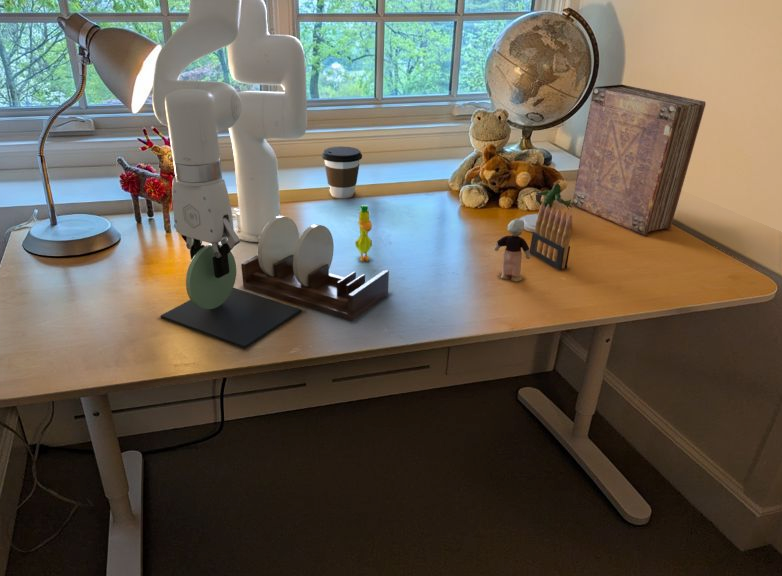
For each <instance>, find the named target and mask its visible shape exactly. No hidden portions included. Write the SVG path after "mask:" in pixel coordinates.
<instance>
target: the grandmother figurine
mask: <svg viewBox="0 0 782 576" xmlns="http://www.w3.org/2000/svg"><path fill="white" fill-rule="evenodd" d="M506 230H507V231H508V232H509V233H510V235H505V236H502V237H500V238H499V239H498V240H497V241H496V244H495V246H493V251H495V252H498V251H499V250H500V248H502V247H505V249H504V253H503V258H502V266H501V267H502V268H501V275H500V278H501V279H502V280H509V279H510V278H511V279H510V280H511V281H512V282H514V283H515V282H516V283H517V282H520V281H522V280H523V279H524V278H523V276H522V275H521V271H522V270H521V269H522V259H523V258H522V255H523V254H524V255H525V259H526V260H530V259H531V257H532V254H530V251H529V250H530V246H529V245H528V242H527V240H525V239H524V238H523V237H521V235H522V234H523V232H524V230H525V229H524V221H523V220H521V219H520V218H514V219H512V220H511V221H510V222H509V223H508V224H507V227H506ZM522 251H523V252H524V253H522Z"/></svg>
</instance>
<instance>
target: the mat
mask: <svg viewBox="0 0 782 576" xmlns="http://www.w3.org/2000/svg"><path fill="white" fill-rule="evenodd" d="M302 311H303V310H302V308H299V307H295V306H293V305H289V304H286V303H283V302H280V301H277V300H273V299H271V298H267V297H264V296H261V295H258V294H255V293H251V292H248V291H245V290H242V289H239V288H235V287H233V289H232V291H231V293H230V295H229V297H228V298H227V299H226V300H225V301H224V303H222V304H221V305H220V306H218V307H216V308H214V309H203V308H200V307H198V306H196V305H195V304H194V303H193V302H192V301H191V300H190V299H189V300H187V301H185V302H183V303H181V304H180V305H178V306H175V307H174V308H172V309H170V310H168V311H166V312H165V313H162V314H161V315H160V319H162V320H164V321H168V322H170V323H173V324H175V325H178V326H181V327H184V328H186V329H190V330H192V331H195V332H196V333H197V332H198V333H200V334H203V335H206V336H208V337H211V338H214V339H217V340H219V341H222V342H225V343H228V344H230V345H232V346H235V347H239V348H241V349H244V350H246V349H248V348H249V347H251V346H252V345H253V344H255V343H257V342H258V341H260V340H261V339H263V338H264V337H266V336H267V335H269V334H270V333H271V332H273V331H275V330H276V329H278V328H280V327H281V326H282V325H284V324H286V323H287V322H288V321H290V320H292V319H293V318H295V317H296V316H298V315H300V314H301V313H302Z"/></svg>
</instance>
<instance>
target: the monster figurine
mask: <svg viewBox="0 0 782 576" xmlns="http://www.w3.org/2000/svg"><path fill="white" fill-rule="evenodd" d="M561 192H562V186H561V184H560V183H558V182H557V183H555V185H554V186H552V188H551V189H547V190H541V191H538V192H535V201H536V202H537V203H538V204H539V206H541V204H542V202H544V205H545V209H546V207H547V205H548V204H549V206H550V210H552V208H553V204H554V202H555V201H557V202H558V203H559V204H561V205H564V206H566V208H567V209H568V210H570V208H571V209H573V206H572V204H573V203H572V202H571V201H572V199H570V200H564V199H562V198H561V197H562V195H561ZM542 196H545V197H544V199H543V200H544V201H542ZM569 207H570V208H569ZM544 213H545V211H544ZM538 214H539V213H533V214H526V215H523V216H521V217H520V218H519V219H521V220H523V221H524V229H523V230H525V231H527V232H530V233H533V232H535V226H536V220H537V218H538ZM549 217H550V216H549ZM555 217H556V215H555ZM560 221H561V220H560Z"/></svg>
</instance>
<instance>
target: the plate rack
mask: <svg viewBox="0 0 782 576" xmlns="http://www.w3.org/2000/svg"><path fill="white" fill-rule="evenodd" d="M293 257H294V255H290V256H288V257H286V258H285V259H283V260H281V261H279V262H277V263H275V264H274V276H275V277H273V276H269V275H267V274H265V273H264V272H263V270H262V269H261V267H260V265H259V261H258V254H257V255H254V256H253V257H251V258H249V259H247V260H245V261H243V262H241V263H240V266H241V267H240V269H241V278H242V286H243V287H242V288H244V289H247V290H250V291H254V292H257V293H260V294H263V295H267V296H270V297H272V298H276V299H279V300H283V301H285V302H289V303H292V304H296V305H298V306H301V307H305V308H308V309H311V310H313V311H318V312H319V313H320V312H321V313H324V314H327V315H329V316H334V317H337V318H340V319H343V320H346V321H349V322H352V323H353V322H354V321H356V320H357V319H358V318H359V317H361V316H362V315H364V314H365V313H366V312H368V311H369V310H370V309H371V308H373V307H375V306H376V304H378V303H379V302H380V301H382V300H383V299H385V298H386V297H387V296H388V295H389V280H390V279H389V278H390V277H389V276H390V271H389V270H387V269H383V270H382V271H381V272H379V273H378V274H376V275H374V277H372V278H370V279H369V280H367V281H366V274H365V273H362V274H360V275H359V276H357V271H352V272H350V273H349V274H347V275H346V276H342V275H341V276H340V275H338V274H334V273H332V272H330V268H329V264H326V265H324V266H322V267H320V268H319V269H317V270H315V271H314V272H312V273H310V274H309V287H306V286H303V285H301V284H300V283H299V282H298V281H297V279H296V277H295V275H294V270H293Z"/></svg>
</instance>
